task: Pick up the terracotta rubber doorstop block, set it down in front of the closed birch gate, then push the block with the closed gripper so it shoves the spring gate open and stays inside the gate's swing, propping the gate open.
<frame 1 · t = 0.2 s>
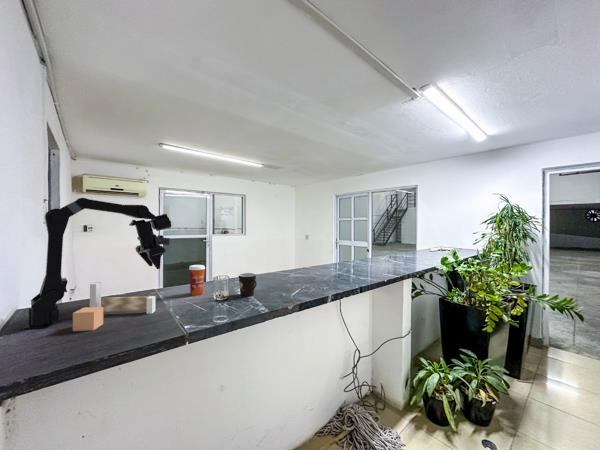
hand: (154, 267, 108), 15 cm above the countertop, tool pointing down, fingers open, 9 cm apart
paper cup: (196, 294, 122), on the countertop
coffee mug: (247, 296, 120), on the countertop
twin post hurdle: (121, 313, 94), on the countertop
doorstop block: (88, 327, 82), on the countertop
gate: (125, 303, 94), point 4 cm above the countertop, hinge at 0.0°
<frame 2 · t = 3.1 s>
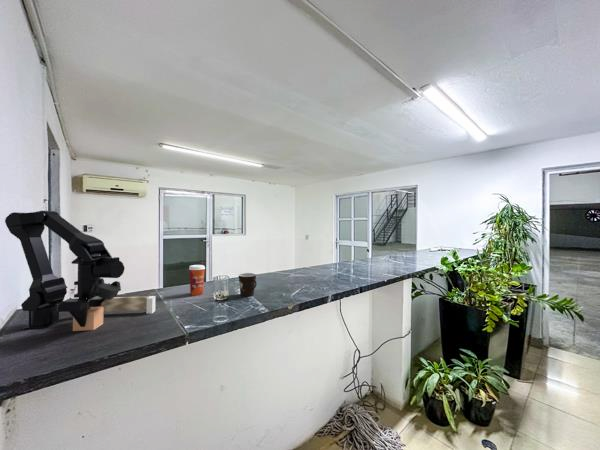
hand: (88, 323, 82), 1 cm above the countertop, tool pointing down, fingers closed on doorstop block, 5 cm apart
doorstop block: (88, 327, 82), on the countertop, touching gripper
everything else where it was.
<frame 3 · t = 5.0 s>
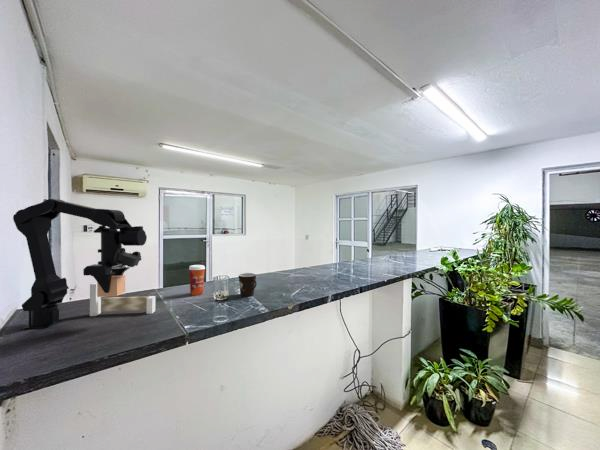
hand: (111, 290, 85), 12 cm above the countertop, tool pointing down, fingers closed on doorstop block, 5 cm apart
doorstop block: (111, 294, 85), point 10 cm above the countertop, touching gripper
everything else where it was.
when the fingers open (3 cm above the countertop, at t = 7.3 s): doorstop block drops 1 cm, on the countertop.
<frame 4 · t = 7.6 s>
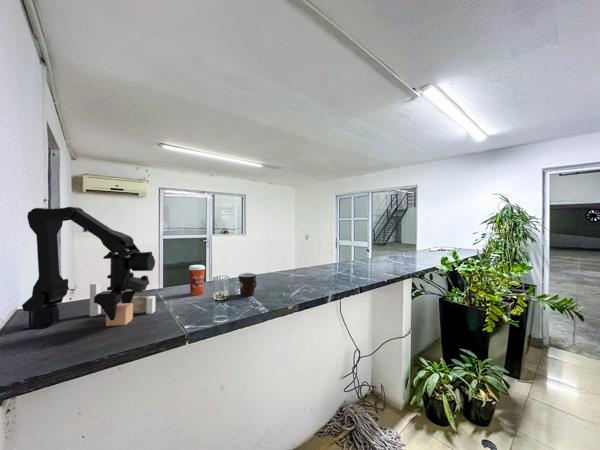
hand: (119, 315, 86), 3 cm above the countertop, tool pointing down, fingers open, 9 cm apart
doorstop block: (119, 322, 86), on the countertop
everything else where it was.
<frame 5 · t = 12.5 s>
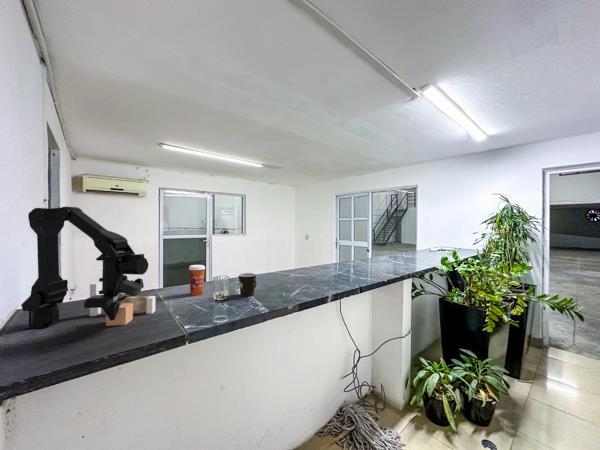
hand: (112, 320, 82), 3 cm above the countertop, tool pointing down, fingers closed
doorstop block: (119, 322, 86), on the countertop, touching gripper
everything else where it was.
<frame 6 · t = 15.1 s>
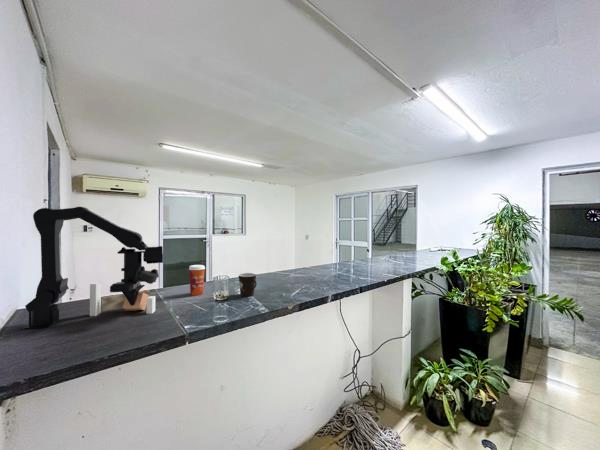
hand: (132, 305, 94), 3 cm above the countertop, tool pointing down, fingers closed, pressing on doorstop block
doorstop block: (133, 309, 96), point 1 cm above the countertop, tilted 29°, touching gripper
gate: (127, 299, 99), point 4 cm above the countertop, hinge at 36.1°
everything else where it was.
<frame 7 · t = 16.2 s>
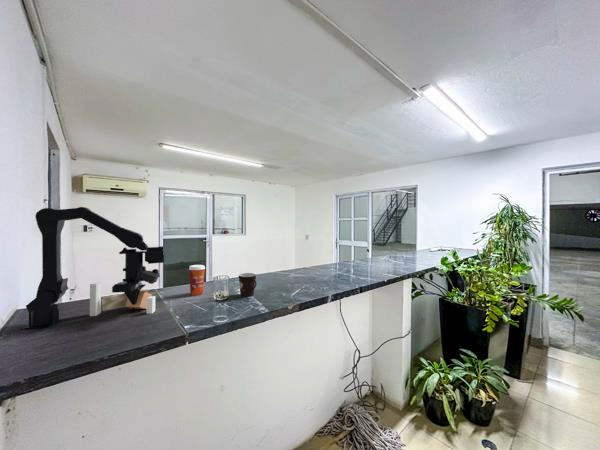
hand: (134, 304, 96), 3 cm above the countertop, tool pointing down, fingers closed, pressing on doorstop block
doorstop block: (136, 307, 98), point 1 cm above the countertop, tilted 29°, touching gate, gripper
gate: (126, 299, 100), point 4 cm above the countertop, hinge at 42.6°, touching doorstop block
everything else where it was.
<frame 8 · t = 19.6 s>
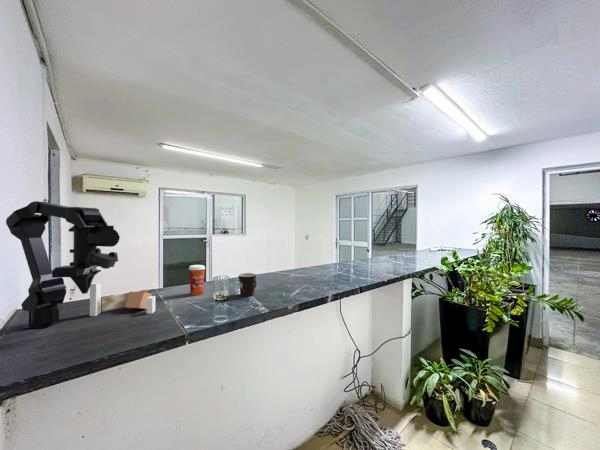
hand: (84, 293, 80), 12 cm above the countertop, tool pointing down, fingers closed
doorstop block: (136, 308, 98), point 1 cm above the countertop, tilted 24°, touching gate
gate: (126, 299, 100), point 4 cm above the countertop, hinge at 42.0°, touching doorstop block
everything else where it was.
at the end: gate at +42° (first picture: +0°); doorstop block inside the target area (3.7 cm from its centre), point 1.0 cm above the countertop; the gripper is holding nothing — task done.
